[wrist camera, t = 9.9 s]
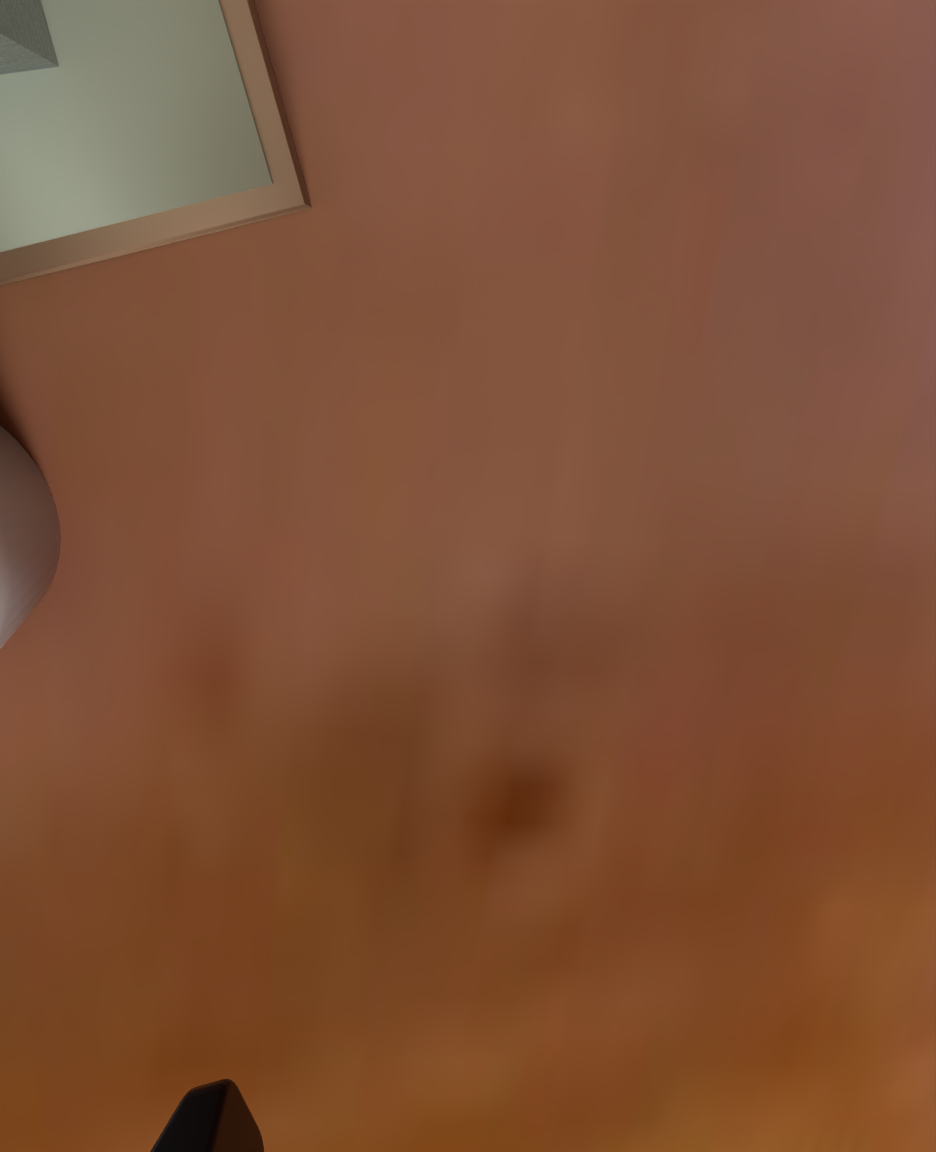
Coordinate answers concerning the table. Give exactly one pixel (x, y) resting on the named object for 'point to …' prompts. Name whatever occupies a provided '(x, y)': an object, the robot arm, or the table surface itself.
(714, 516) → the table surface
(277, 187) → the stand
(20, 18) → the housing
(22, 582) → the light grey rounded cylinder
